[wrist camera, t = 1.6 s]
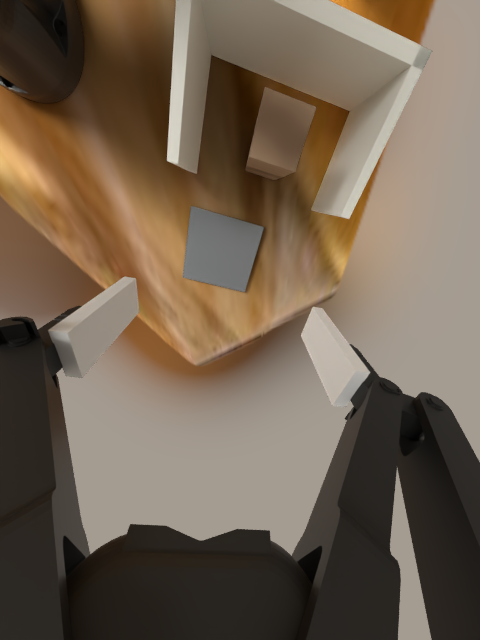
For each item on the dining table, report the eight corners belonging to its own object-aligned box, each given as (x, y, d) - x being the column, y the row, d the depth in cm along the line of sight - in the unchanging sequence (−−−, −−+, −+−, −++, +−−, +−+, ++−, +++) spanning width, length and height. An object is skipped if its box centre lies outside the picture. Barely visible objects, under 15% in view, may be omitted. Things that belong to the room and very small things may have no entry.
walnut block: (274, 180, 33) (295, 172, 21) (244, 170, 32) (249, 156, 20) (285, 141, 30) (316, 107, 18) (254, 130, 30) (265, 86, 18)
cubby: (316, 212, 35) (349, 219, 25) (189, 171, 32) (166, 160, 22) (361, 102, 28) (432, 50, 18) (203, 36, 25) (180, -72, 15)
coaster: (183, 275, 41) (182, 277, 41) (192, 205, 35) (191, 205, 34) (244, 290, 43) (244, 292, 42) (263, 226, 36) (264, 227, 36)
